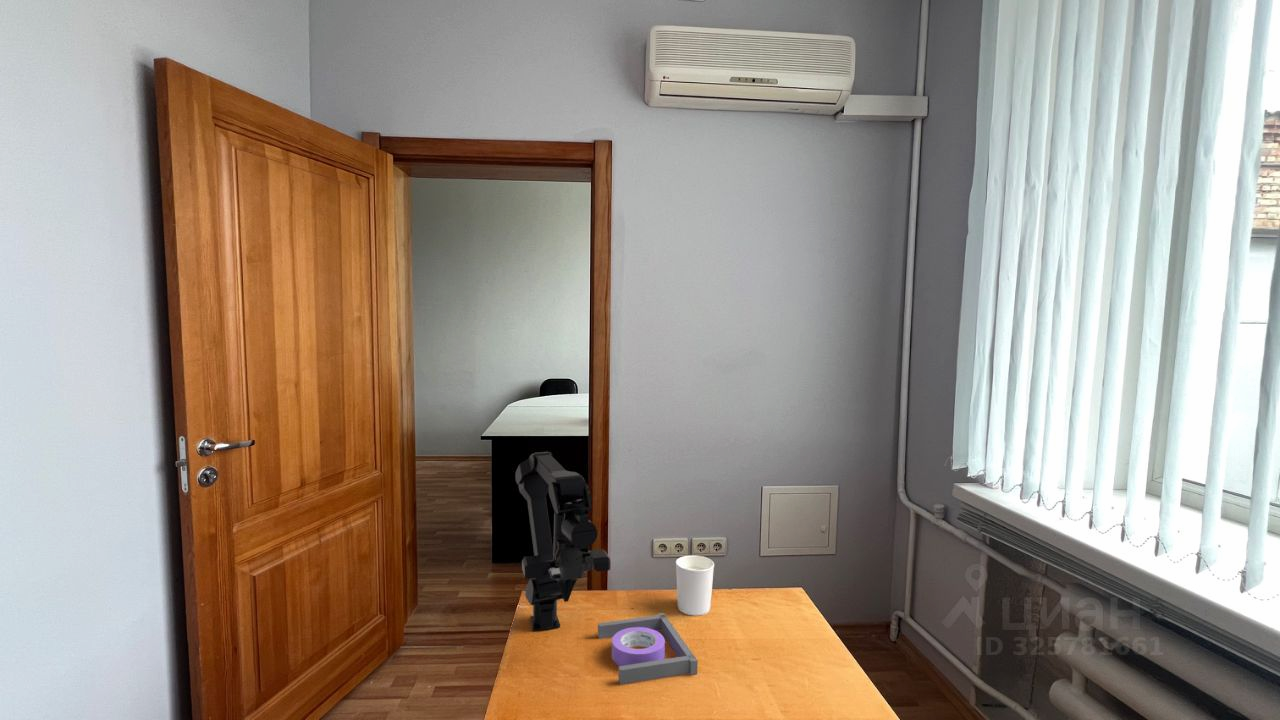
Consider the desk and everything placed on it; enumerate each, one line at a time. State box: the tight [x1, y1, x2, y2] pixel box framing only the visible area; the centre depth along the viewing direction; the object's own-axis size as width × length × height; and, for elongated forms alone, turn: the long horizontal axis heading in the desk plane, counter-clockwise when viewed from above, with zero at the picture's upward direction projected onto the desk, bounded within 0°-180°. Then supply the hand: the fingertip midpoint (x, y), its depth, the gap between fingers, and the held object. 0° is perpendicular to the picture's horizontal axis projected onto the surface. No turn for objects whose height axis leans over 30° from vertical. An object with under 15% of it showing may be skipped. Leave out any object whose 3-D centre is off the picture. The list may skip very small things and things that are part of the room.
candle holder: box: [675, 555, 715, 616], centre depth 158 cm, size 10×10×12 cm
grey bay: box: [597, 612, 699, 686], centre depth 136 cm, size 22×16×3 cm
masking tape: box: [611, 627, 666, 667], centre depth 136 cm, size 12×12×4 cm
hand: (565, 600), depth 136 cm, fingers closed
